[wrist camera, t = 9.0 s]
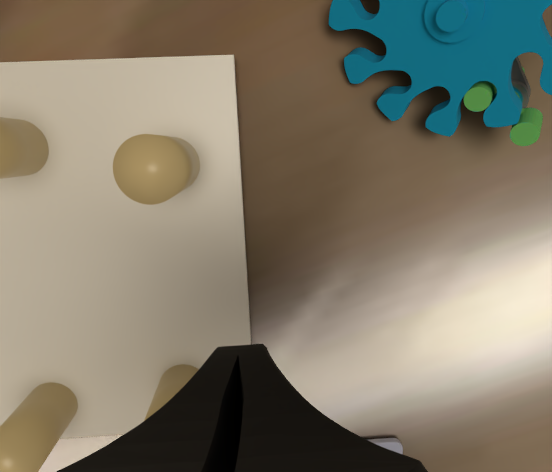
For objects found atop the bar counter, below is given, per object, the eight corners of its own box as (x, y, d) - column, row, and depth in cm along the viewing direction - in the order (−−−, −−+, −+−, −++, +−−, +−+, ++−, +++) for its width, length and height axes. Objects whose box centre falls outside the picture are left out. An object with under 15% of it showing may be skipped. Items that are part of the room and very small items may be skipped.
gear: (276, -31, 17) (572, -309, 10) (335, -60, 20) (581, -277, 13) (402, 188, 20) (683, 107, 13) (433, 131, 24) (666, 43, 17)
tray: (255, 412, 23) (256, 495, 17) (-129, 440, 22) (-253, 536, 16) (234, 59, 19) (227, 24, 13) (-232, 75, 18) (-439, 44, 13)
